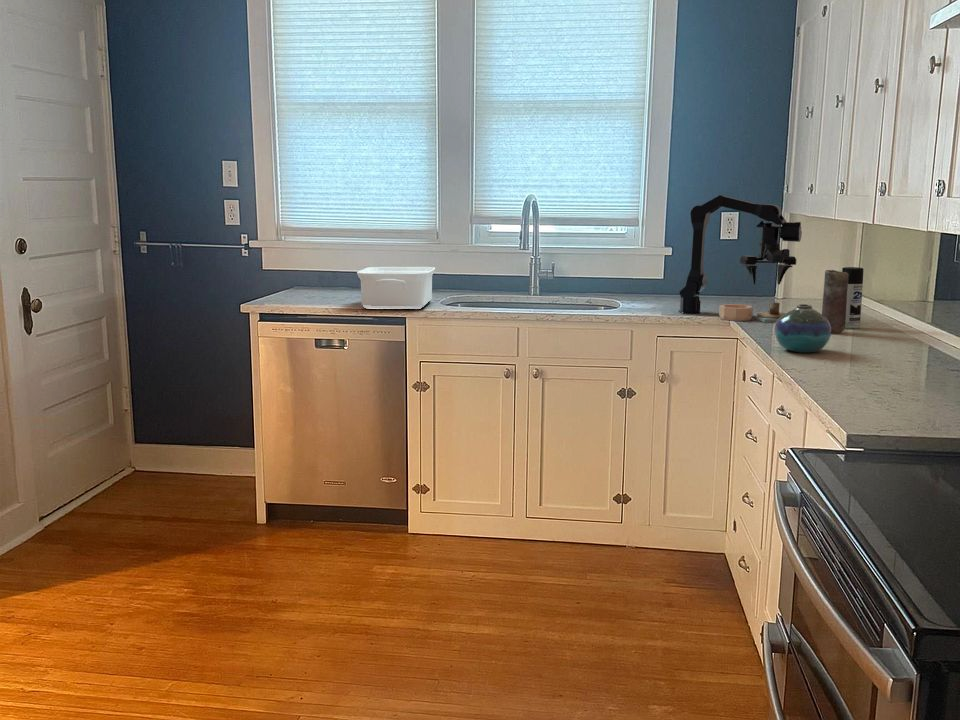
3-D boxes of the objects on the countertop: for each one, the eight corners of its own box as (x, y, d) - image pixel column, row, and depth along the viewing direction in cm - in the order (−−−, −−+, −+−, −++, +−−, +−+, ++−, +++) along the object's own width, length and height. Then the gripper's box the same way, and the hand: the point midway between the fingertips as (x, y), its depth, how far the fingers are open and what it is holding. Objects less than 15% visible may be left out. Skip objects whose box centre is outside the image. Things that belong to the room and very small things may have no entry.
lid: (765, 319, 309) (766, 305, 308) (751, 314, 321) (752, 301, 320) (797, 318, 311) (798, 304, 310) (782, 313, 322) (783, 300, 321)
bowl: (727, 321, 312) (727, 308, 311) (715, 316, 322) (716, 304, 321) (756, 320, 313) (756, 307, 312) (743, 316, 323) (744, 304, 322)
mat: (764, 322, 309) (764, 319, 309) (748, 316, 322) (749, 314, 321) (799, 321, 310) (800, 318, 310) (783, 316, 323) (783, 313, 323)
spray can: (850, 329, 292) (854, 269, 288) (833, 327, 298) (837, 267, 294) (864, 328, 295) (868, 268, 291) (847, 325, 301) (851, 266, 297)
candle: (826, 329, 293) (831, 269, 289) (848, 332, 287) (853, 270, 284) (816, 332, 287) (820, 270, 283) (838, 335, 282) (843, 272, 278)
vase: (841, 354, 251) (845, 307, 249) (794, 357, 247) (798, 309, 244) (807, 344, 266) (810, 300, 263) (762, 347, 261) (765, 303, 259)
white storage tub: (371, 300, 374) (370, 265, 371) (438, 301, 372) (438, 266, 369) (353, 312, 341) (351, 274, 338) (426, 312, 338) (425, 274, 335)
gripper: (753, 242, 305) (750, 287, 309) (805, 242, 307) (801, 287, 311) (740, 239, 316) (737, 283, 319) (791, 240, 318) (787, 283, 321)
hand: (766, 284), depth 317 cm, fingers open, 9 cm apart
